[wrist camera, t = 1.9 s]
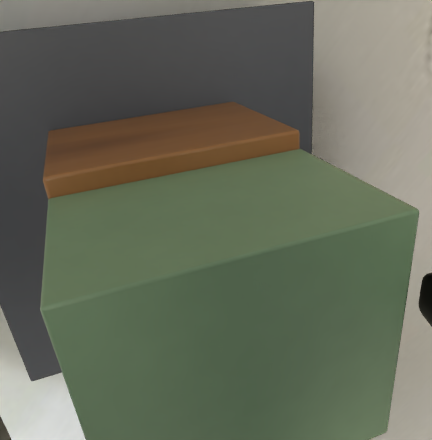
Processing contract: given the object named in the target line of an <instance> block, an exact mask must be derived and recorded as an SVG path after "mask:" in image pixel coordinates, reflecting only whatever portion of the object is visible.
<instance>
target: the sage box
mask: <svg viewBox="0 0 432 440" xmlns="http://www.w3.org/2000/svg"><path fill="white" fill-rule="evenodd" d="M418 217H419V210H418V209H416V208H415V207H413V206H411V205H409V204H407V203H405V202H403V201H401V200H399V199H397V198H395V197H393V196H391V195H389V194H387V193H385V192H383V191H382V190H380V189H378V188H376V187H374V186H372V185H370V184H368V183H366V182H364V181H362V180H360V179H358V178H356V177H354V176H352V175H350V174H349V173H347V172H345V171H343V170H341V169H339V168H337V167H335V166H333V165H331V164H329V163H327V162H325V161H323V160H321V159H319V158H317V157H316V156H314V155H312V154H310V153H308V152H306V151H304V150H302V149H297V150H292V151H287V152H282V153H277V154H271V155H266V156H261V157H256V158H251V159H246V160H241V161H236V162H231V163H226V164H221V165H216V166H211V167H206V168H201V169H196V170H191V171H186V172H181V173H175V174H170V175H165V176H160V177H155V178H150V179H145V180H140V181H135V182H130V183H125V184H120V185H115V186H110V187H105V188H100V189H95V190H90V191H85V192H80V193H74V194H69V195H64V196H59V197H54V198H50V199H49V200H48V210H47V224H46V237H45V251H44V265H43V278H42V292H41V306H40V311H41V314H42V316H43V319H44V322H45V325H46V328H47V331H48V333H49V336H50V339H51V342H52V345H53V348H54V350H55V353H56V356H57V359H58V362H59V365H60V368H61V370H62V373H63V376H64V379H65V382H66V385H67V387H68V390H69V393H70V396H71V399H72V402H73V404H74V407H75V410H76V413H77V416H78V419H79V422H80V424H81V427H82V430H83V433H84V436H85V439H86V440H369V439H371V438H374V437H376V436H379V435H381V434H383V433H385V432H386V431H387V427H388V420H389V413H390V407H391V400H392V393H393V386H394V380H395V373H396V366H397V359H398V353H399V346H400V339H401V332H402V326H403V319H404V312H405V305H406V298H407V292H408V285H409V278H410V271H411V265H412V258H413V251H414V244H415V238H416V231H417V224H418Z"/></svg>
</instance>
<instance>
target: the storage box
mask: <svg viewBox="0 0 432 440" xmlns="http://www.w3.org/2000/svg"><path fill="white" fill-rule="evenodd" d="M313 37H314V2H313V1H306V2H296V3H285V4H275V5H265V6H255V7H245V8H235V9H225V10H215V11H205V12H195V13H184V14H174V15H164V16H154V17H144V18H134V19H124V20H114V21H104V22H94V23H83V24H73V25H63V26H53V27H43V28H33V29H23V30H13V31H3V32H0V305H1V308H2V310H3V313H4V315H5V318H6V320H7V323H8V325H9V328H10V330H11V333H12V335H13V338H14V340H15V342H16V345H17V347H18V350H19V352H20V355H21V357H22V360H23V362H24V365H25V367H26V370H27V372H28V375H29V377H30V380H31V381H35V380H38V379H41V378H45V377H48V376H51V375H55V374H58V373H61V372H62V370H61V368H60V365H59V362H58V359H57V356H56V353H55V350H54V348H53V345H52V342H51V339H50V336H49V333H48V331H47V328H46V325H45V322H44V319H43V316H42V314H41V311H40V306H41V292H42V278H43V265H44V251H45V237H46V224H47V210H48V197H47V193H46V190H45V186H44V183H43V174H44V165H45V157H46V148H47V140H48V132H49V131H51V130H57V129H64V128H70V127H76V126H82V125H89V124H95V123H101V122H108V121H114V120H120V119H126V118H133V117H139V116H145V115H152V114H158V113H164V112H171V111H177V110H183V109H189V108H196V107H202V106H208V105H215V104H221V103H227V102H236V103H238V104H240V105H242V106H245V107H247V108H249V109H251V110H254V111H256V112H258V113H261V114H263V115H265V116H267V117H270V118H272V119H274V120H276V121H279V122H281V123H283V124H285V125H288V126H290V127H292V128H295V129H297V130H299V133H300V149H302V150H304V151H306V152H308V153H310V154H312V98H313Z"/></svg>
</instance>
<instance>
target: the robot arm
mask: <svg viewBox="0 0 432 440" xmlns="http://www.w3.org/2000/svg"><path fill="white" fill-rule="evenodd" d="M419 308H420V311H421V313H422V315H423V316H424V317H425V318H426V320H427V321H428V322H429V323H430V325H431V326H432V273H429V274H426V275H425V276H424V277H423V280H422V285H421V291H420V297H419ZM0 440H11V438H10V436H9V433H8V431H7V429H6V427H5V425H4V423H3V421H2V419H1V417H0Z"/></svg>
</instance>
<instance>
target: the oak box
mask: <svg viewBox="0 0 432 440" xmlns="http://www.w3.org/2000/svg"><path fill="white" fill-rule="evenodd" d="M297 149H300V133H299V130H297V129H295V128H292V127H290V126H288V125H285V124H283V123H281V122H279V121H276V120H274V119H272V118H270V117H267V116H265V115H263V114H261V113H258V112H256V111H254V110H251V109H249V108H247V107H245V106H242V105H240V104H238V103H236V102H227V103H221V104H215V105H208V106H202V107H196V108H189V109H183V110H177V111H171V112H164V113H158V114H152V115H145V116H139V117H133V118H126V119H120V120H114V121H108V122H101V123H95V124H89V125H82V126H76V127H70V128H64V129H57V130H51V131H49V132H48V140H47V148H46V157H45V165H44V174H43V183H44V186H45V190H46V193H47V197H48V200H49V199H50V198H54V197H59V196H64V195H69V194H74V193H80V192H85V191H90V190H95V189H100V188H105V187H110V186H115V185H120V184H125V183H130V182H135V181H140V180H145V179H150V178H155V177H160V176H165V175H170V174H175V173H181V172H186V171H191V170H196V169H201V168H206V167H211V166H216V165H221V164H226V163H231V162H236V161H241V160H246V159H251V158H256V157H261V156H266V155H271V154H277V153H282V152H287V151H292V150H297Z"/></svg>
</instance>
